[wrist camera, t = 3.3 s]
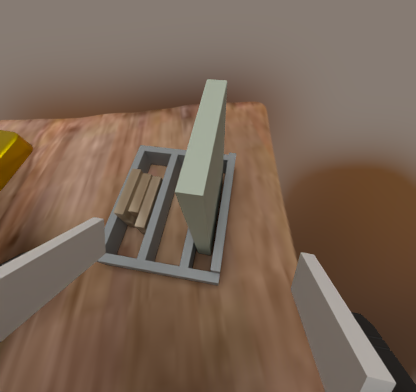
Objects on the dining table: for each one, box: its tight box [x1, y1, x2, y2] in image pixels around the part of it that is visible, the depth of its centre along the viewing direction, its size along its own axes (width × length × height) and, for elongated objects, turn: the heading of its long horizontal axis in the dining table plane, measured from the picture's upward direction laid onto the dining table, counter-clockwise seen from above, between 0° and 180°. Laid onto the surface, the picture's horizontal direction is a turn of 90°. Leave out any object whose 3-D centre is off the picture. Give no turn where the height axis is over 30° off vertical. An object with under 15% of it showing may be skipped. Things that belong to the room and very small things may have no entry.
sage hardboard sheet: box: [175, 79, 227, 255], centre depth 25 cm, size 2×13×20 cm, turn 170°
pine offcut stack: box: [113, 168, 163, 235], centre depth 33 cm, size 4×9×6 cm, turn 170°
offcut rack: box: [96, 145, 236, 285], centre depth 32 cm, size 18×21×6 cm
